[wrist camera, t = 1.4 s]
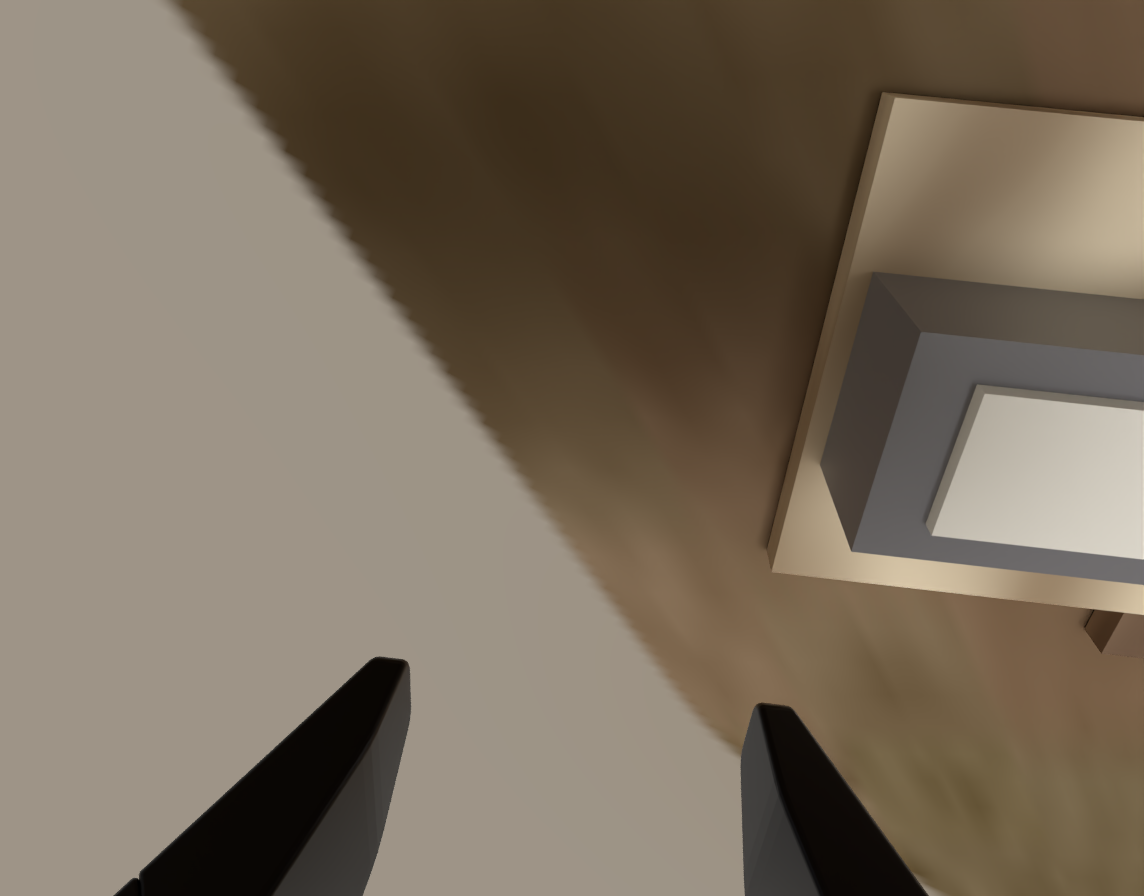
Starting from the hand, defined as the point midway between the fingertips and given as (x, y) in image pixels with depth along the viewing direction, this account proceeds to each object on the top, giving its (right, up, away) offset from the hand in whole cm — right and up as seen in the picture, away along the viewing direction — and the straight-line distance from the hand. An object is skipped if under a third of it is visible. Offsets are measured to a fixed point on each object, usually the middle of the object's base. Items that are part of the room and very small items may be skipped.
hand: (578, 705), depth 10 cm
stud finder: (+10, +4, +9) cm, 14 cm away
